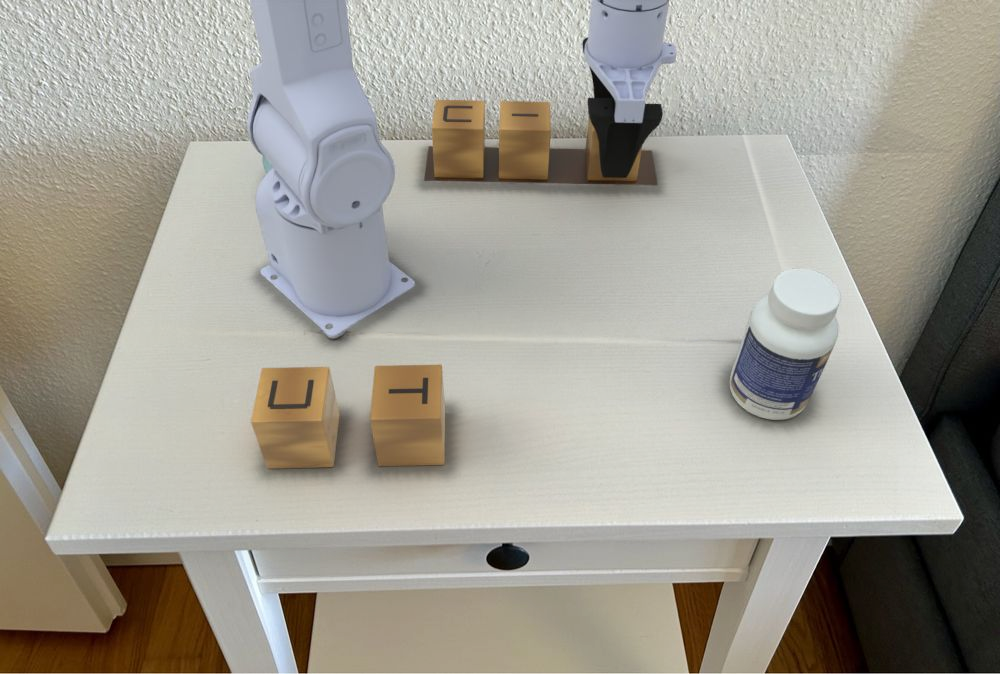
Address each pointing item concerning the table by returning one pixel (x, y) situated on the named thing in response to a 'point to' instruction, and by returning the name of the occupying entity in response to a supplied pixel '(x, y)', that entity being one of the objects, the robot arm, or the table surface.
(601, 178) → the wooden letter cube
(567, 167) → the word board
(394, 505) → the table surface
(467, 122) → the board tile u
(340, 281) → the robot arm
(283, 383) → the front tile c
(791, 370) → the pill bottle
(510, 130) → the board tile
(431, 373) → the tile
